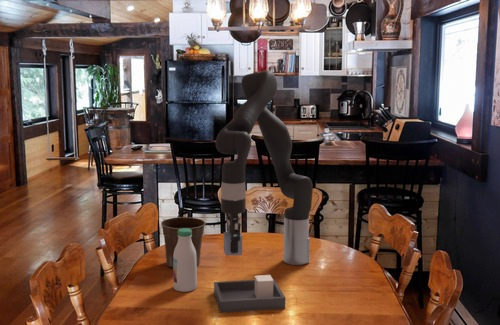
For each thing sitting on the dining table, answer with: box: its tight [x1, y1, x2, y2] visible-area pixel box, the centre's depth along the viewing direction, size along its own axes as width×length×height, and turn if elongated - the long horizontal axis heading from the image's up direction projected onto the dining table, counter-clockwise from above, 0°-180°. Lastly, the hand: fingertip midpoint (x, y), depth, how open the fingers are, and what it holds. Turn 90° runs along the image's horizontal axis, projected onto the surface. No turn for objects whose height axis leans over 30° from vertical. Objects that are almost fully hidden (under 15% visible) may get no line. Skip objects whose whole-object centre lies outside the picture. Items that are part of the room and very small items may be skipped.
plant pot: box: [160, 216, 206, 268], centre depth 212 cm, size 16×16×16 cm
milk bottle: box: [172, 228, 198, 293], centre depth 189 cm, size 8×8×20 cm
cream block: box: [254, 274, 274, 298], centre depth 181 cm, size 5×5×6 cm
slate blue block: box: [223, 231, 243, 257], centre depth 177 cm, size 5×5×6 cm
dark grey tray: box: [213, 278, 286, 314], centre depth 181 cm, size 20×16×4 cm
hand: (232, 249), depth 177 cm, fingers closed on slate blue block, 5 cm apart
